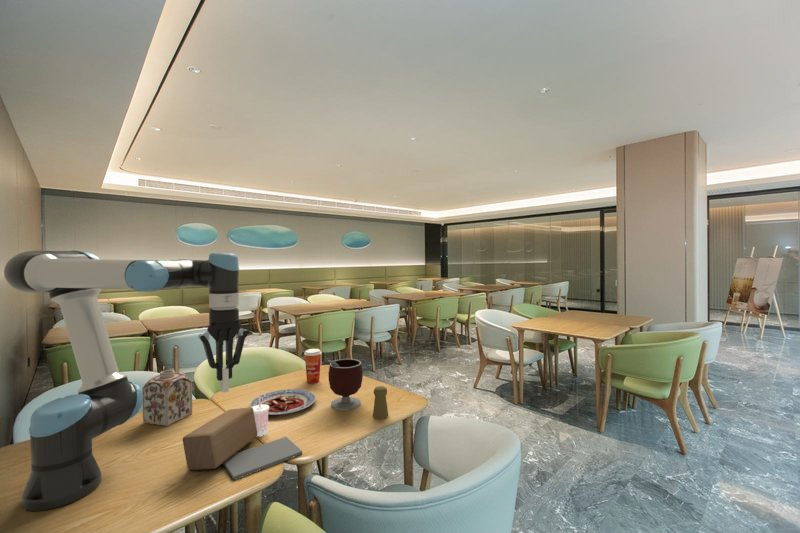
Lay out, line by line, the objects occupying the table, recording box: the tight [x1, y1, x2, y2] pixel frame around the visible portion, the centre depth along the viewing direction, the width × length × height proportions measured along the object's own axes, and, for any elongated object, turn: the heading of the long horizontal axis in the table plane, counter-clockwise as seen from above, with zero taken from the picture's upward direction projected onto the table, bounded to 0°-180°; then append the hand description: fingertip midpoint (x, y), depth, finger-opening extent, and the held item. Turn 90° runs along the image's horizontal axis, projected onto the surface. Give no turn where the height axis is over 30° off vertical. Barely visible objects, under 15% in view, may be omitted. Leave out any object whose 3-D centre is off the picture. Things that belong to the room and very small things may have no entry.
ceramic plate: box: [249, 388, 317, 416], centre depth 150 cm, size 26×26×3 cm
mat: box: [222, 436, 303, 480], centre depth 111 cm, size 20×12×1 cm, turn 130°
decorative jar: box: [141, 369, 193, 427], centre depth 138 cm, size 12×12×18 cm
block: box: [182, 406, 258, 471], centre depth 113 cm, size 10×10×20 cm
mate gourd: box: [326, 358, 364, 411], centre depth 150 cm, size 16×14×20 cm
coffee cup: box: [303, 348, 322, 384], centre depth 179 cm, size 8×8×15 cm
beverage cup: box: [252, 392, 269, 437], centre depth 126 cm, size 6×6×14 cm
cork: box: [372, 385, 389, 420], centre depth 140 cm, size 6×6×11 cm
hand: (224, 390), depth 104 cm, fingers closed
